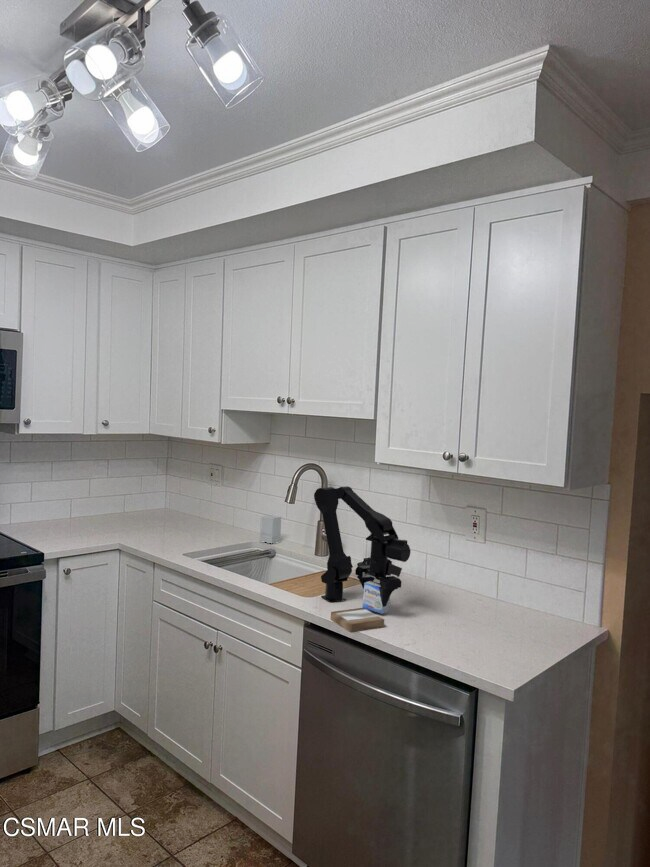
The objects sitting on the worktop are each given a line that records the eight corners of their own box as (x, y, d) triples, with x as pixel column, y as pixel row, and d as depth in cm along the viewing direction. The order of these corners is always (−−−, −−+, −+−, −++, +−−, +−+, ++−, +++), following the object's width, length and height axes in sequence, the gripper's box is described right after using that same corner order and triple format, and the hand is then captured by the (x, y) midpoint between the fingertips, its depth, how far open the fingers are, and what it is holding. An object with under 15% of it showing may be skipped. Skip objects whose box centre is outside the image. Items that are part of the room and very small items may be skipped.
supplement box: (280, 542, 308) (282, 516, 308) (271, 544, 302) (272, 518, 301) (268, 540, 312) (269, 514, 311) (259, 542, 306) (260, 516, 305)
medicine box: (362, 608, 210) (363, 582, 210) (369, 605, 214) (371, 580, 213) (381, 614, 205) (383, 588, 205) (389, 611, 209) (391, 585, 209)
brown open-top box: (330, 619, 200) (331, 610, 199) (362, 615, 206) (362, 606, 206) (351, 632, 189) (351, 623, 189) (383, 627, 195) (384, 618, 195)
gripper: (416, 560, 205) (412, 608, 206) (382, 547, 221) (379, 592, 222) (388, 563, 199) (385, 612, 200) (355, 549, 215) (352, 595, 216)
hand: (376, 602), depth 209 cm, fingers closed on medicine box, 9 cm apart
